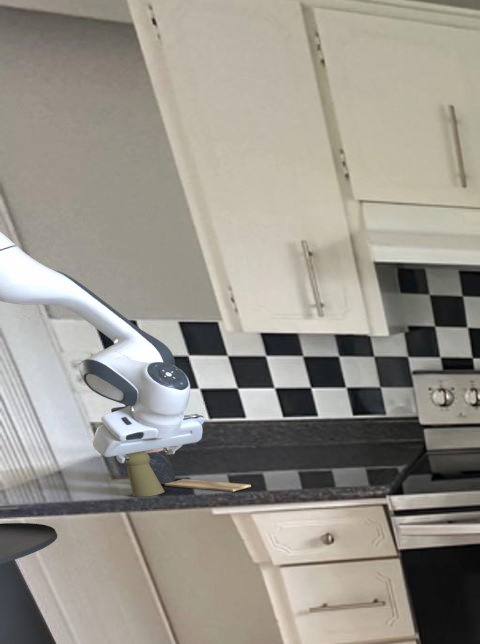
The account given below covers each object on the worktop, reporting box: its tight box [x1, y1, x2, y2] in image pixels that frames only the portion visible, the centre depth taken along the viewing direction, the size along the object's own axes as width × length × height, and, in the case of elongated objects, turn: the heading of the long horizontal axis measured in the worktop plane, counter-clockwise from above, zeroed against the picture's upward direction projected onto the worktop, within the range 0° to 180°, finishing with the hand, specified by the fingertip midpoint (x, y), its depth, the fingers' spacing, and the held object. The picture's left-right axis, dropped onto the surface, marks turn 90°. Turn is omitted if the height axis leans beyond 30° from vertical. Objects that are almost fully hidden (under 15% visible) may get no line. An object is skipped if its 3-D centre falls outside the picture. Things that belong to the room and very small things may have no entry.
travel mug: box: [110, 405, 177, 485], centre depth 173 cm, size 8×8×20 cm
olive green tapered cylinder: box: [122, 451, 166, 498], centre depth 165 cm, size 6×6×11 cm
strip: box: [164, 478, 252, 493], centre depth 174 cm, size 5×22×1 cm, turn 79°
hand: (146, 456), depth 162 cm, fingers open, 8 cm apart
